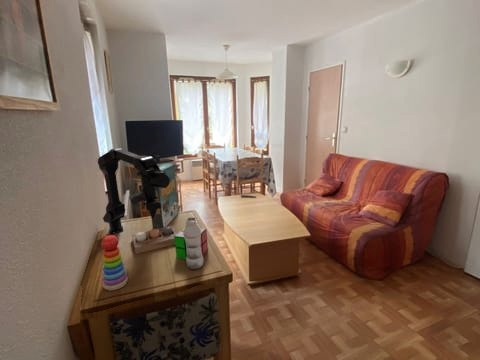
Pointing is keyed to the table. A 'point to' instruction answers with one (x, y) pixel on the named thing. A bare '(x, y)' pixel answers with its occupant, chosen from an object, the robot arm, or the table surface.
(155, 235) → the terracotta button
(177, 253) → the puzzle cube
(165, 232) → the charcoal button
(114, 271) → the stacking toy
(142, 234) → the cream button
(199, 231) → the plastic bottle
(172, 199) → the cake mix box
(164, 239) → the panel
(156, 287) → the table surface
